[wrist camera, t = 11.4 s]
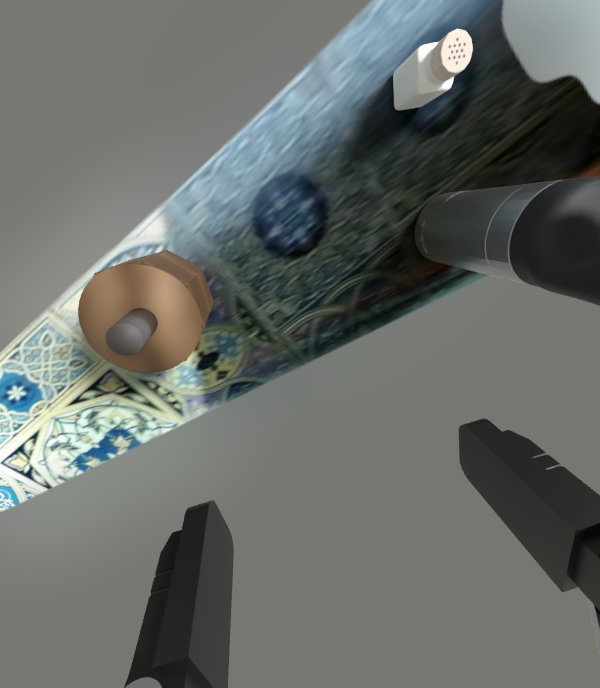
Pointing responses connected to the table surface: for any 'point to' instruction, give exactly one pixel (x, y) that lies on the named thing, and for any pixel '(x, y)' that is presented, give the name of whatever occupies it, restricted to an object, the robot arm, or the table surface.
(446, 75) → the pepper shaker
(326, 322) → the table surface
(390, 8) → the table surface
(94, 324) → the tan jar with knob
